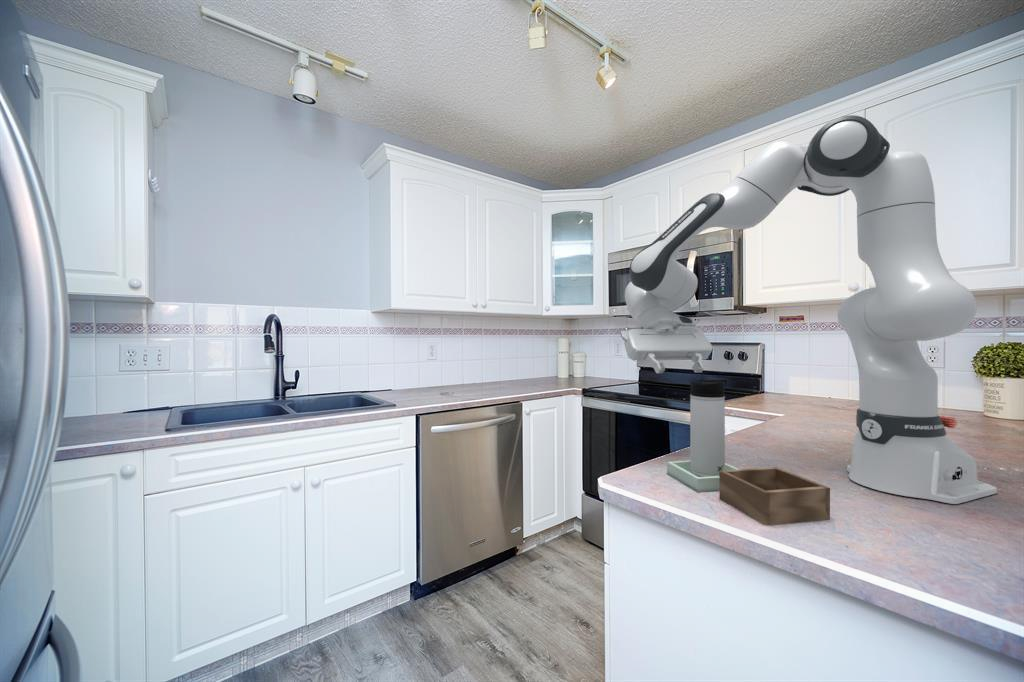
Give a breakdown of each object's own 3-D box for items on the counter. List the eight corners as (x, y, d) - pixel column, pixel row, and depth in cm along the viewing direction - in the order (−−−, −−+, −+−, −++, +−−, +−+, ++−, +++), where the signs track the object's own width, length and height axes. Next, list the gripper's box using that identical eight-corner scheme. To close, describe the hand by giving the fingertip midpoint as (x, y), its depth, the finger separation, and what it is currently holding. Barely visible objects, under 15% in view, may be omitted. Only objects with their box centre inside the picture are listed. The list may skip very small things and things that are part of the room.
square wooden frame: (776, 494, 76) (776, 467, 75) (829, 519, 65) (830, 487, 65) (719, 498, 74) (719, 470, 74) (765, 525, 63) (765, 492, 63)
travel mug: (730, 484, 79) (730, 380, 79) (693, 482, 80) (693, 380, 80) (721, 474, 85) (721, 377, 85) (687, 472, 86) (687, 377, 86)
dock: (716, 470, 89) (716, 458, 89) (752, 488, 79) (752, 475, 79) (667, 473, 87) (666, 461, 87) (697, 492, 77) (697, 478, 77)
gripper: (622, 318, 97) (642, 362, 88) (700, 319, 101) (727, 361, 91) (614, 337, 102) (632, 381, 92) (689, 337, 105) (714, 379, 96)
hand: (680, 371), depth 92 cm, fingers open, 8 cm apart
